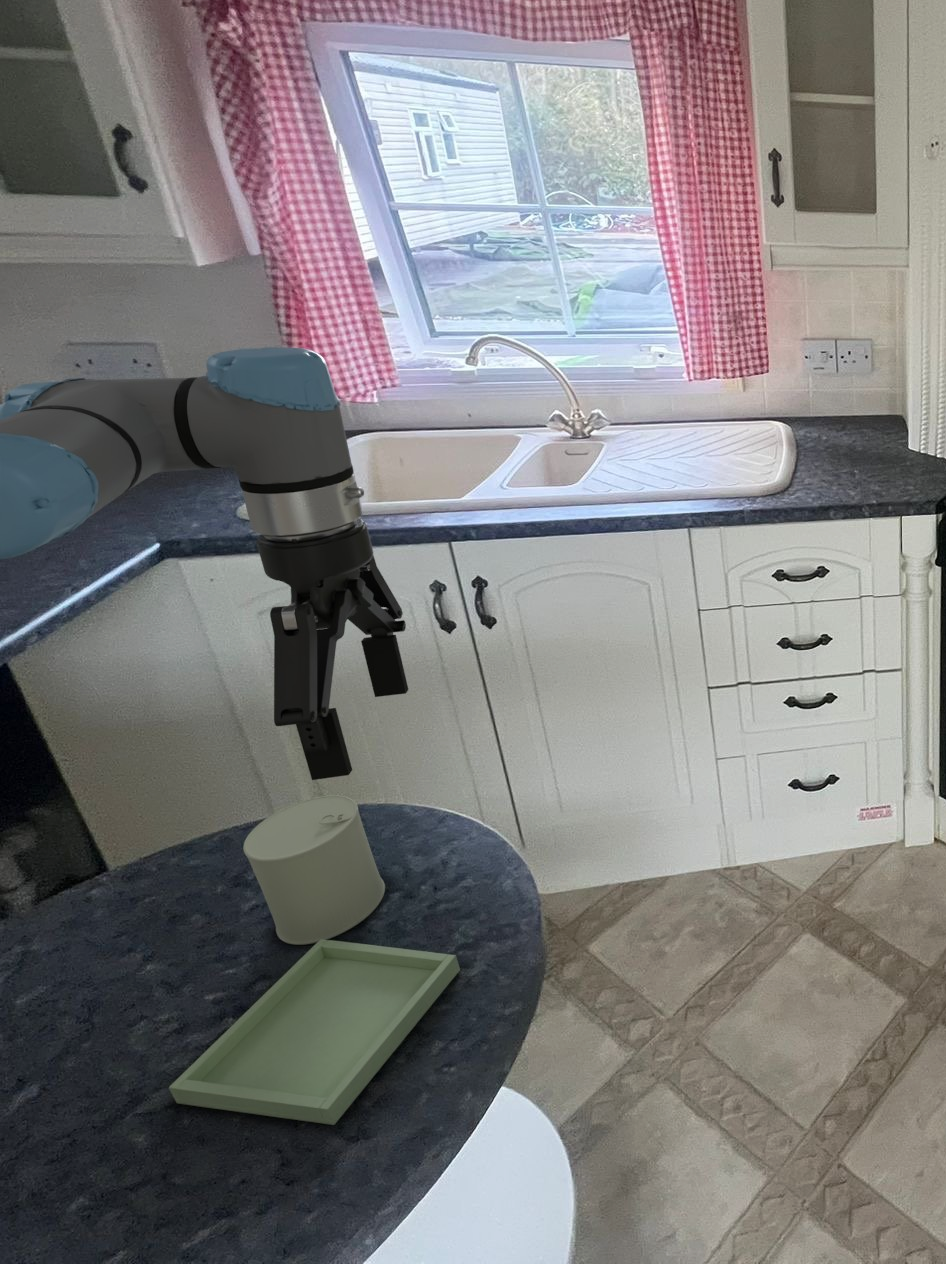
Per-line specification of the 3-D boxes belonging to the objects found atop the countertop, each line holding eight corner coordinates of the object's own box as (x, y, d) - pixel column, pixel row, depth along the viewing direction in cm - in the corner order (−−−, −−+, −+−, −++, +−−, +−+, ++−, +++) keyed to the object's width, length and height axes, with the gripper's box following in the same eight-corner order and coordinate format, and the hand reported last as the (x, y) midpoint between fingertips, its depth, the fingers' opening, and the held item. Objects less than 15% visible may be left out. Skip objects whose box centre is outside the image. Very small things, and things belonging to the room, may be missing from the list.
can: (370, 930, 86) (339, 843, 82) (260, 956, 83) (222, 867, 79) (396, 865, 94) (369, 782, 90) (296, 887, 91) (263, 802, 87)
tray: (176, 1103, 70) (167, 1087, 69) (326, 953, 84) (320, 938, 83) (334, 1125, 69) (327, 1109, 68) (460, 969, 83) (456, 954, 82)
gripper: (293, 580, 62) (355, 809, 69) (413, 481, 84) (451, 661, 91) (167, 589, 60) (245, 826, 67) (325, 485, 82) (371, 670, 89)
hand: (364, 731), depth 79 cm, fingers open, 13 cm apart
